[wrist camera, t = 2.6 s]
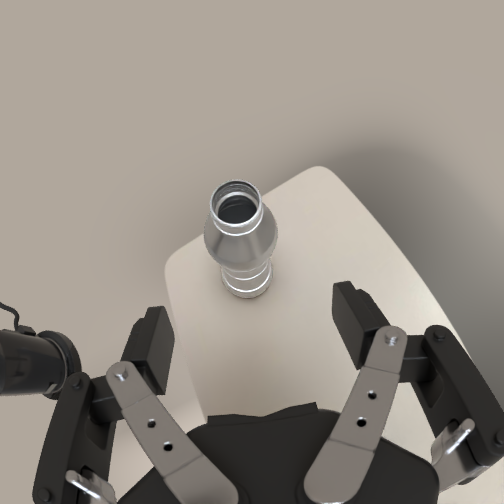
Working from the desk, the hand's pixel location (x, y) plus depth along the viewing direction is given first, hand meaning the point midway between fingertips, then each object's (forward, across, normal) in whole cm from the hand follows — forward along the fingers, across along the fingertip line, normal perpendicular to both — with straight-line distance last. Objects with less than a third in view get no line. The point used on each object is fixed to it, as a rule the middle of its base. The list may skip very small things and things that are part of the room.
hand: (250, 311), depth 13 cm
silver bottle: (+22, 0, +11) cm, 25 cm away
